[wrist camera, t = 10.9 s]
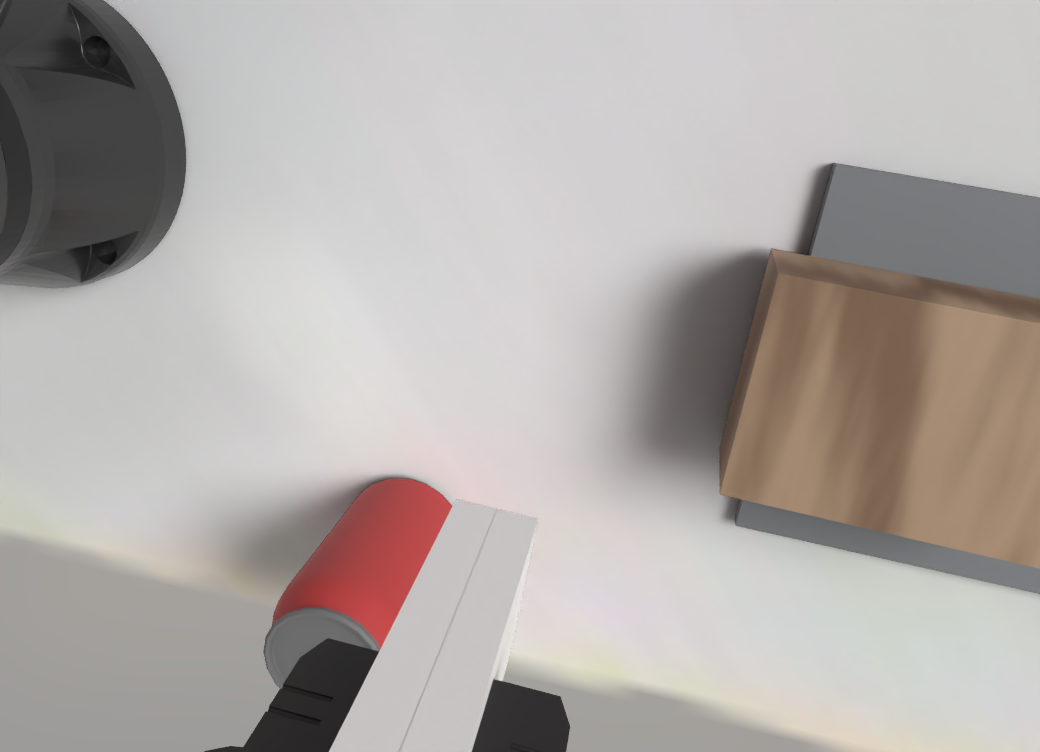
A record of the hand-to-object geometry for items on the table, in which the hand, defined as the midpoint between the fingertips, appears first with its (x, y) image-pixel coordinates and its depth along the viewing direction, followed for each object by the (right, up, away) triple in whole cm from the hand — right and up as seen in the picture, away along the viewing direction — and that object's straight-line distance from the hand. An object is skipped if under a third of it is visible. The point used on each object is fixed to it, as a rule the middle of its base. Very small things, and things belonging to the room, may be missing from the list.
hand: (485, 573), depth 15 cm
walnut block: (+11, +4, +22) cm, 25 cm away
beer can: (-6, -5, +32) cm, 33 cm away
